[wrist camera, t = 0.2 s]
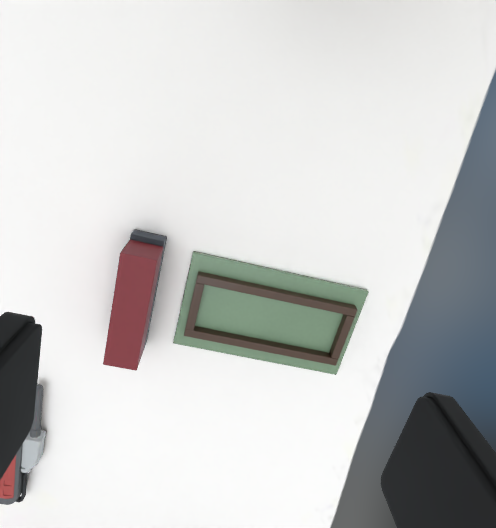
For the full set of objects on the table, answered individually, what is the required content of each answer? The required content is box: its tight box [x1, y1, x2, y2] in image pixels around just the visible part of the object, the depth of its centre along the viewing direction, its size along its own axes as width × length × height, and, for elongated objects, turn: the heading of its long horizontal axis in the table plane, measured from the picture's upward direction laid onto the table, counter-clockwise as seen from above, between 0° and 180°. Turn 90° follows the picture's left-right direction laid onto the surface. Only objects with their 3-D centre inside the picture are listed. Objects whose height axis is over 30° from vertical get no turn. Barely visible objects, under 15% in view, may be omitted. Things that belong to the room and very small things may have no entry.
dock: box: [173, 251, 368, 375], centre depth 50 cm, size 12×21×2 cm, turn 76°
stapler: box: [103, 230, 167, 370], centre depth 46 cm, size 14×4×6 cm, turn 166°
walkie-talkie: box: [0, 384, 46, 505], centre depth 54 cm, size 9×4×20 cm
